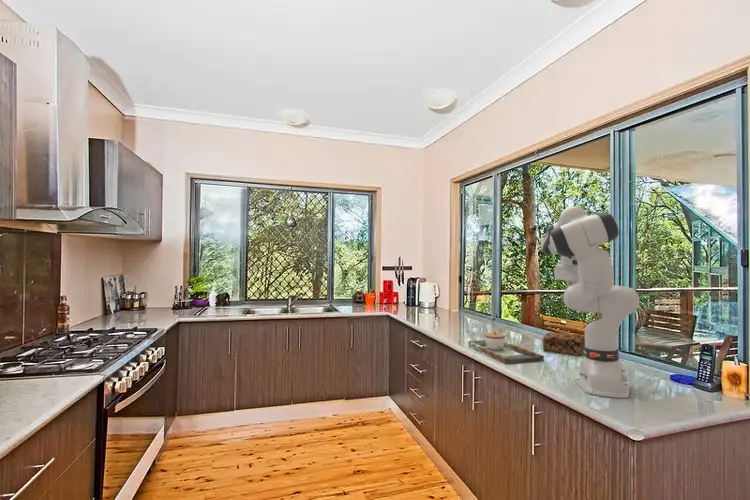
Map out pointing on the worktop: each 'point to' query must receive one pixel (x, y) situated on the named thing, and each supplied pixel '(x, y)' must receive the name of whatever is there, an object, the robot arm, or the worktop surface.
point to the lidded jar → (495, 340)
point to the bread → (564, 343)
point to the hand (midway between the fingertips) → (572, 290)
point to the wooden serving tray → (525, 358)
